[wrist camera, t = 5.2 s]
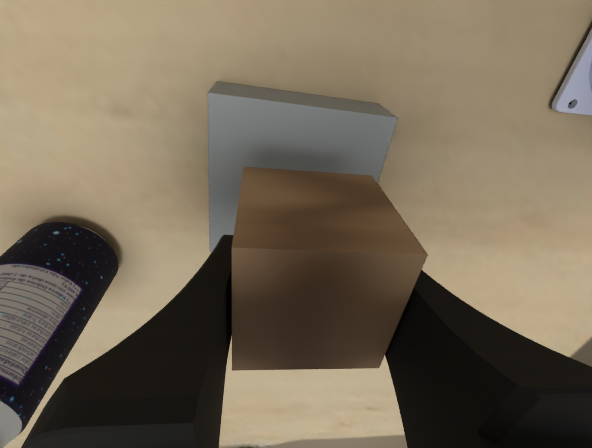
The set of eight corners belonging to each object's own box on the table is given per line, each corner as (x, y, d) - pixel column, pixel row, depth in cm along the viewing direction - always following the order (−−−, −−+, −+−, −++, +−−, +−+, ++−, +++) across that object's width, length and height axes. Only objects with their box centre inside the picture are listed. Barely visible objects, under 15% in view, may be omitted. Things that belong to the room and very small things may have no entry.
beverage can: (11, 234, 20) (-238, 442, 10) (80, 201, 19) (-118, 392, 9) (78, 289, 23) (-64, 491, 13) (140, 262, 22) (39, 457, 12)
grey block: (376, 102, 18) (397, 117, 15) (341, 229, 23) (353, 260, 20) (218, 80, 17) (207, 92, 14) (217, 220, 21) (209, 251, 18)
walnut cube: (371, 175, 12) (427, 254, 8) (346, 271, 15) (378, 368, 11) (243, 166, 12) (231, 247, 7) (242, 268, 14) (232, 370, 10)
